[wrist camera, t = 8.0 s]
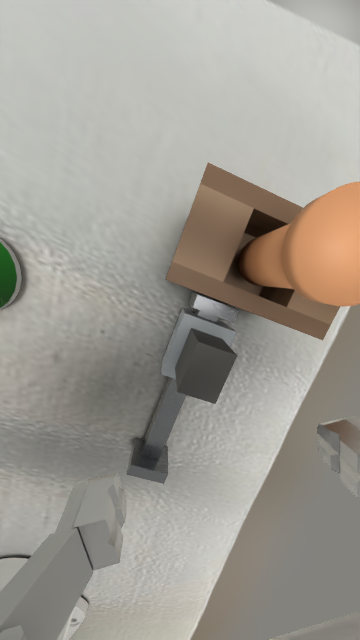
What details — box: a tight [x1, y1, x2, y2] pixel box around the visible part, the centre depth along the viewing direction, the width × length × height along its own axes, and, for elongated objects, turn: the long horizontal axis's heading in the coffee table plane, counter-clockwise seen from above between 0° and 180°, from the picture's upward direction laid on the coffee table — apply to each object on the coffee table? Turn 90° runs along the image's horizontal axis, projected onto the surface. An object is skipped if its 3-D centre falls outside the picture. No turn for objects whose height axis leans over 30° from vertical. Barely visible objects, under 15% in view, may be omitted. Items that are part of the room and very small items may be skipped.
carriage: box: [161, 308, 237, 404], centre depth 18 cm, size 6×5×8 cm
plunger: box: [238, 182, 360, 306], centre depth 9 cm, size 4×4×6 cm
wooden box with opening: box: [166, 163, 340, 340], centre depth 16 cm, size 6×10×10 cm, turn 69°
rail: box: [127, 292, 239, 484], centre depth 22 cm, size 19×4×4 cm, turn 159°
